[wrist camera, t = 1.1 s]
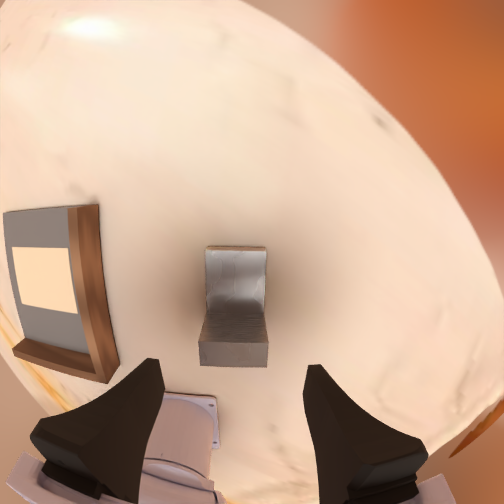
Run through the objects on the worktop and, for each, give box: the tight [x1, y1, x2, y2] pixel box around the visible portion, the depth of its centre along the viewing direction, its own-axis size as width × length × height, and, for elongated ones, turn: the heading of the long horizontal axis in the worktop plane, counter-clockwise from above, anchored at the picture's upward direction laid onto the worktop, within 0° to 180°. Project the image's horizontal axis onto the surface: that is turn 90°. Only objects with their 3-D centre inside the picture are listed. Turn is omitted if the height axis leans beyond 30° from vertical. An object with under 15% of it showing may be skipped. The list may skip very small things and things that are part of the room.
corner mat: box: [3, 205, 117, 354], centre depth 21 cm, size 16×14×1 cm
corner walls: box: [12, 205, 120, 384], centre depth 20 cm, size 16×14×3 cm
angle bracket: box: [198, 246, 268, 367], centre depth 19 cm, size 7×4×6 cm, turn 178°
